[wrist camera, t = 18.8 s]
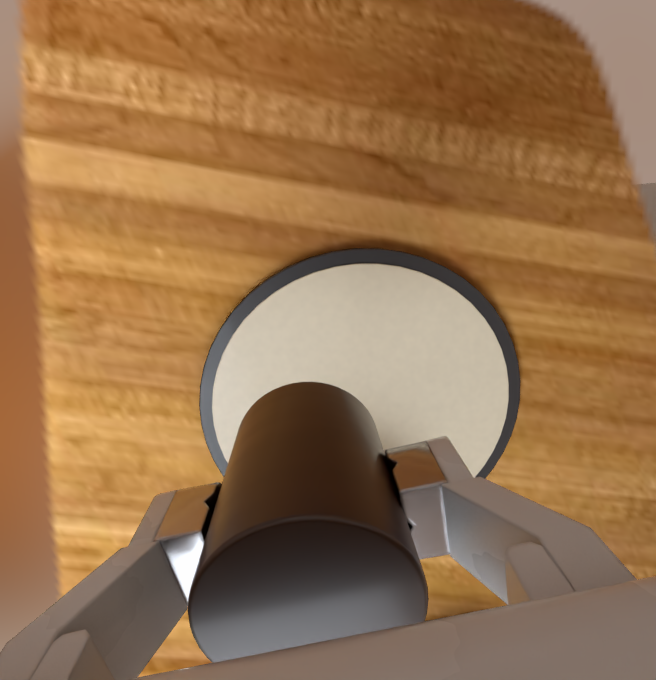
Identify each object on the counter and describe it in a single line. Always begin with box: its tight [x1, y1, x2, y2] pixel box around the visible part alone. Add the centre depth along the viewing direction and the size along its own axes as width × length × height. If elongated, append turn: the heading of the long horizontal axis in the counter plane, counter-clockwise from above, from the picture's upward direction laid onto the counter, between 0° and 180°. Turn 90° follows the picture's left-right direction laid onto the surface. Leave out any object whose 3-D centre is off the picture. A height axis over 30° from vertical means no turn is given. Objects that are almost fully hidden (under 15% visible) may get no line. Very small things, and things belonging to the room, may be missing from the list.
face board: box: [199, 248, 520, 479], centre depth 22 cm, size 18×18×1 cm
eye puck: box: [188, 382, 428, 663], centre depth 9 cm, size 4×4×5 cm
